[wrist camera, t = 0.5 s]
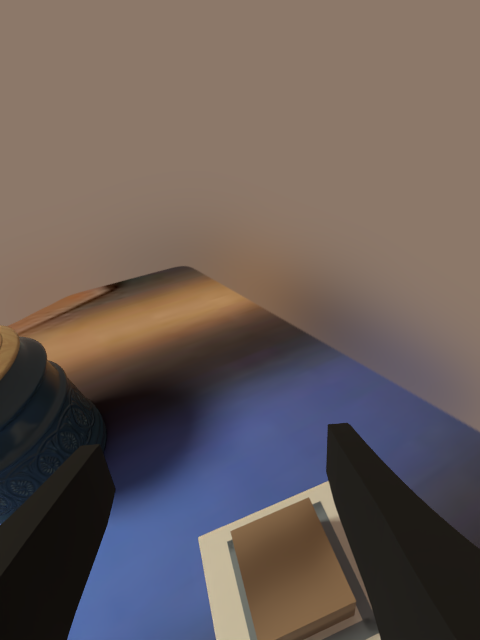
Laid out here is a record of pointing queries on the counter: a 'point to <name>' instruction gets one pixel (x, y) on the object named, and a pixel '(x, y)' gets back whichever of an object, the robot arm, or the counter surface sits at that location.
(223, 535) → the cream square tray
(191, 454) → the counter surface
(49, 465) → the canister
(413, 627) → the robot arm
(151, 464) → the counter surface
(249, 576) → the walnut block
